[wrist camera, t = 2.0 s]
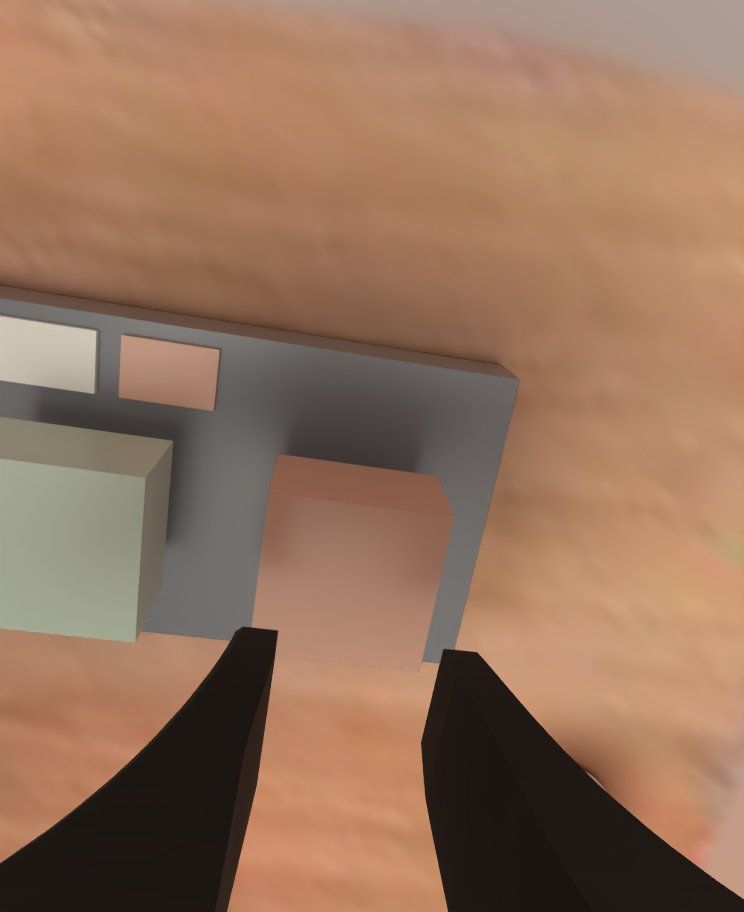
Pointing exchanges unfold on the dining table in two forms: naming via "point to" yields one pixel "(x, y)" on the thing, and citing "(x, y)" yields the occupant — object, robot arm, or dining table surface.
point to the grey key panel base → (255, 431)
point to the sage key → (81, 529)
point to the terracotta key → (351, 562)
